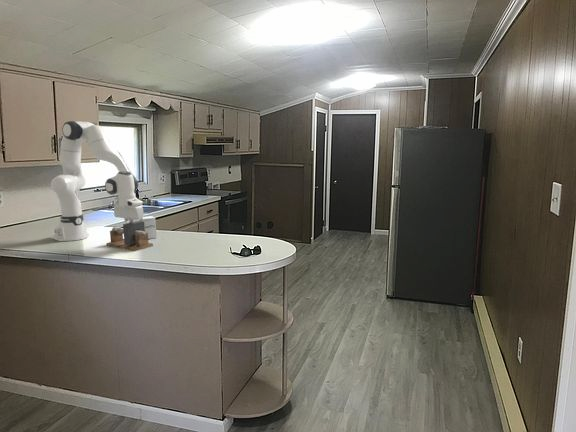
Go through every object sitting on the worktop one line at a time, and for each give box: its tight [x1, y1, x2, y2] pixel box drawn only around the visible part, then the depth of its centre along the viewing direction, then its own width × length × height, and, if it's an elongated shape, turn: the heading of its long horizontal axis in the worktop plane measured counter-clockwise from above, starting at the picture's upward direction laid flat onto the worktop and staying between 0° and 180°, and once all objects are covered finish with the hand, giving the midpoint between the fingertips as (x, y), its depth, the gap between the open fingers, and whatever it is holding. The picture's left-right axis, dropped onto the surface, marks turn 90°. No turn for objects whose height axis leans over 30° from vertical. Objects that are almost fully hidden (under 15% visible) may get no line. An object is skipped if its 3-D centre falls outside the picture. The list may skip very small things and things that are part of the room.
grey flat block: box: [122, 220, 145, 245], centre depth 251 cm, size 4×11×11 cm, turn 148°
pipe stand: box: [105, 226, 154, 252], centre depth 254 cm, size 24×12×10 cm, turn 58°
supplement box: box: [139, 215, 158, 240], centre depth 273 cm, size 7×7×13 cm
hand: (129, 226), depth 252 cm, fingers closed
